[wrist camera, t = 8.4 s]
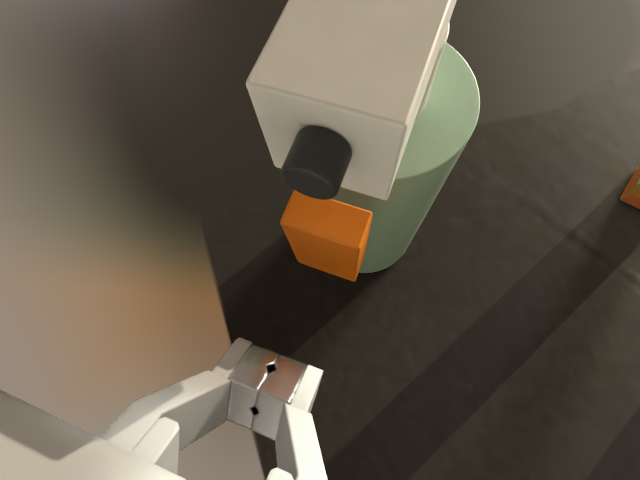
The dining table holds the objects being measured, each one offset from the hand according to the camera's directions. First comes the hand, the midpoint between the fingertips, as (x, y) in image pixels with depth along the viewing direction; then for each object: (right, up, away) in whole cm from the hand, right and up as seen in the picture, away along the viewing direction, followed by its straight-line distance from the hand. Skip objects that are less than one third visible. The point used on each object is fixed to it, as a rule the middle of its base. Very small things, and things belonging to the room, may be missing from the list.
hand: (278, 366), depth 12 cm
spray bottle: (+4, +4, +14) cm, 15 cm away
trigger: (+2, +3, +3) cm, 5 cm away
